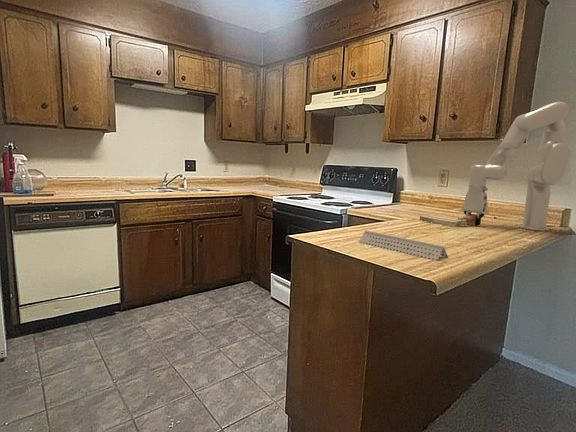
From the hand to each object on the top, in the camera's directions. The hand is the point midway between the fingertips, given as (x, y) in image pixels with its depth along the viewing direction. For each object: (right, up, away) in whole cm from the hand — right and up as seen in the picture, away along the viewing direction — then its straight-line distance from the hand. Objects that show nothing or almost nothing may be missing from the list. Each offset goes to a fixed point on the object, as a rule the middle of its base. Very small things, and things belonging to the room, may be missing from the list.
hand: (472, 224), depth 182 cm
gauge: (-4, -1, -3) cm, 5 cm away
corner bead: (-56, -8, -57) cm, 80 cm away
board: (-14, +1, +4) cm, 15 cm away
